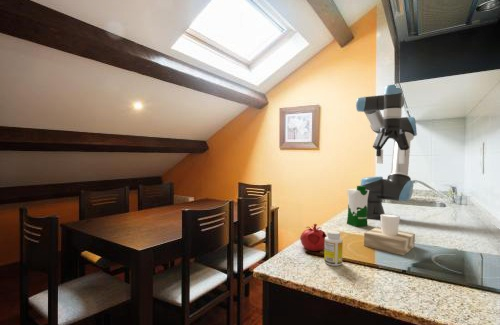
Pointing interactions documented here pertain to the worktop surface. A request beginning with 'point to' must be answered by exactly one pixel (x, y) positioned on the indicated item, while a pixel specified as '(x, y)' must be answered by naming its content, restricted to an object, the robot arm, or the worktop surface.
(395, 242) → the wooden base
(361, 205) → the milk carton
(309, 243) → the pomegranate
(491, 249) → the worktop surface
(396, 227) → the white cup
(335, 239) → the supplement bottle
